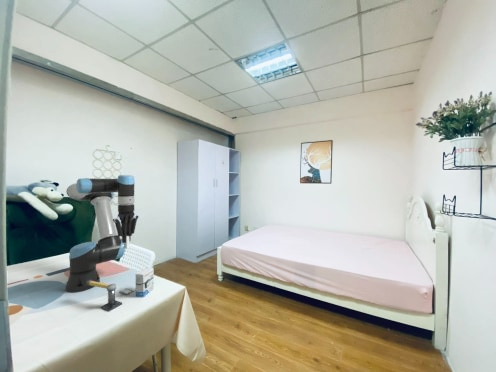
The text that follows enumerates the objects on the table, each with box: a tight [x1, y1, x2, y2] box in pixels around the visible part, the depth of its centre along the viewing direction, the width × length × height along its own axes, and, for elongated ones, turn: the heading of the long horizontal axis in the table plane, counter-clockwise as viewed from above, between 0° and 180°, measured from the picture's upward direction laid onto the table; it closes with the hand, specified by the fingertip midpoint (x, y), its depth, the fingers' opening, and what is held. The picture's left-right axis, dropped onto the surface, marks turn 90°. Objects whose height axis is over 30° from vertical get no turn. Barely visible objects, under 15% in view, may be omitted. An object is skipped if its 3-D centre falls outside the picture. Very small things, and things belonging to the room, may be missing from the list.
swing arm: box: [86, 280, 117, 292], centre depth 99 cm, size 4×18×2 cm, turn 73°
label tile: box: [118, 288, 135, 297], centre depth 109 cm, size 6×4×1 cm, turn 66°
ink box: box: [135, 266, 155, 298], centre depth 109 cm, size 8×5×12 cm, turn 168°
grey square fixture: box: [100, 289, 123, 312], centre depth 97 cm, size 6×6×8 cm
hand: (126, 248), depth 110 cm, fingers closed
